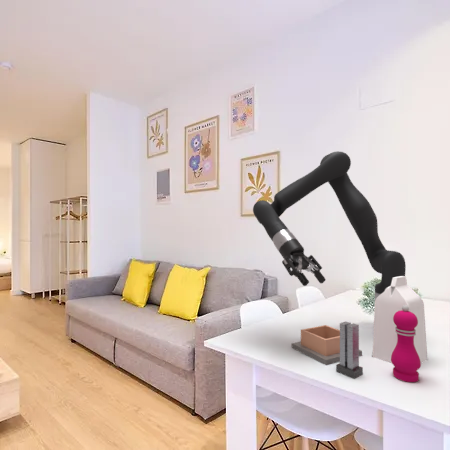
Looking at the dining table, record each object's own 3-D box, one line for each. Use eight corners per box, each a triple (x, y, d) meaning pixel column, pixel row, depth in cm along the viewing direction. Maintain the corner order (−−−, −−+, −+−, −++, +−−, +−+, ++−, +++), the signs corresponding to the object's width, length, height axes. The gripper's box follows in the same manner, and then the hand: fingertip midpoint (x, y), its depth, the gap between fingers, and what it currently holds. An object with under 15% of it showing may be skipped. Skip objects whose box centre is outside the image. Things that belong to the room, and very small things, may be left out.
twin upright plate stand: (344, 367, 94) (344, 320, 95) (362, 374, 90) (362, 325, 90) (336, 371, 92) (336, 323, 92) (354, 378, 87) (354, 328, 87)
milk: (410, 369, 93) (409, 281, 94) (372, 356, 103) (372, 276, 103) (427, 359, 100) (427, 277, 101) (390, 348, 110) (390, 273, 110)
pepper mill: (394, 368, 94) (393, 301, 94) (422, 376, 89) (422, 304, 89) (388, 377, 88) (388, 305, 88) (418, 386, 83) (418, 309, 84)
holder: (325, 340, 118) (325, 322, 118) (362, 355, 104) (361, 335, 104) (291, 347, 110) (291, 328, 110) (326, 365, 96) (325, 343, 96)
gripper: (279, 238, 103) (308, 277, 94) (307, 237, 112) (335, 274, 103) (267, 253, 107) (293, 292, 98) (295, 251, 116) (321, 287, 107)
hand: (315, 283), depth 100 cm, fingers open, 8 cm apart
